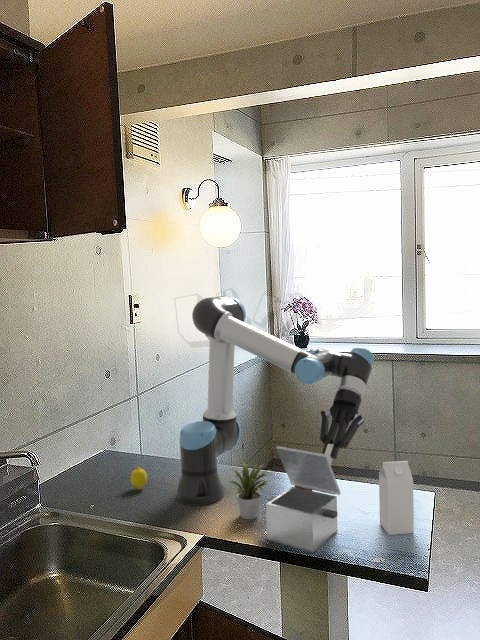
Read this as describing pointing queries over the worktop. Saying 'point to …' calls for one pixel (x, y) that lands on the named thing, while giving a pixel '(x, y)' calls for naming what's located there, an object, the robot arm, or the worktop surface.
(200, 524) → the worktop surface
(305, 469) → the lid
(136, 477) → the fruit
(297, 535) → the white hinged box
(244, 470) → the house plant
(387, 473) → the milk carton
